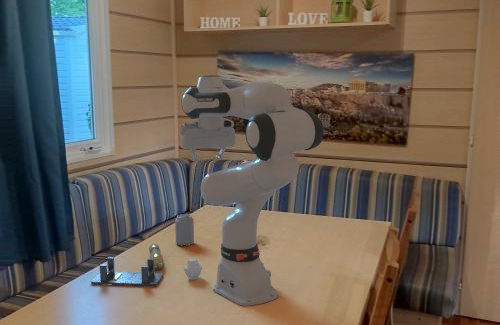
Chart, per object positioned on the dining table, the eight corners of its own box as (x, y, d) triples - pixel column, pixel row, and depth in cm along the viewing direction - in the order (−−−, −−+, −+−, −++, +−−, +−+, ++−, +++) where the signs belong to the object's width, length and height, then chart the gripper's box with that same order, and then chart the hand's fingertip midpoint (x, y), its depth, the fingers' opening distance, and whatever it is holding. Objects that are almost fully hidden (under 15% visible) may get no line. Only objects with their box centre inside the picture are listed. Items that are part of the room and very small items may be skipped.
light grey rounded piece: (185, 282, 166) (185, 262, 165) (182, 275, 172) (182, 256, 171) (203, 280, 168) (203, 261, 167) (200, 273, 174) (200, 254, 173)
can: (192, 246, 202) (192, 218, 200) (174, 246, 202) (173, 218, 200) (195, 240, 209) (194, 213, 207) (177, 240, 209) (176, 213, 207)
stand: (163, 276, 172) (162, 258, 171) (156, 286, 163) (155, 268, 162) (101, 274, 174) (100, 256, 173) (91, 284, 165) (90, 265, 164)
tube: (164, 270, 177) (163, 259, 177) (152, 271, 176) (152, 260, 176) (159, 253, 194) (159, 243, 194) (149, 254, 193) (148, 244, 193)
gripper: (184, 124, 167) (183, 164, 171) (238, 122, 177) (236, 159, 180) (177, 121, 172) (176, 159, 176) (230, 118, 182) (228, 155, 186)
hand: (207, 159), depth 178 cm, fingers open, 8 cm apart
